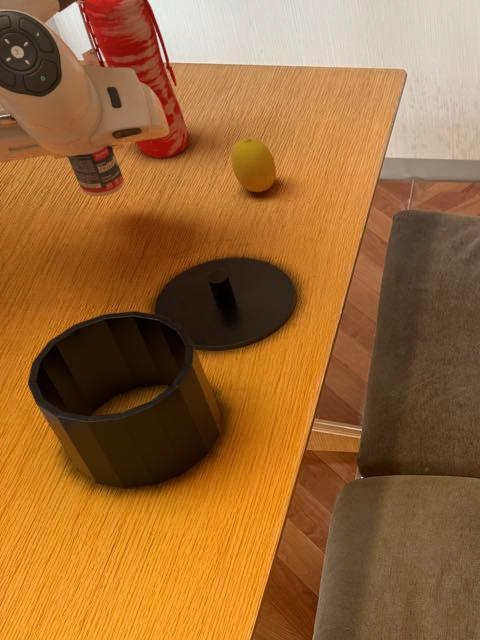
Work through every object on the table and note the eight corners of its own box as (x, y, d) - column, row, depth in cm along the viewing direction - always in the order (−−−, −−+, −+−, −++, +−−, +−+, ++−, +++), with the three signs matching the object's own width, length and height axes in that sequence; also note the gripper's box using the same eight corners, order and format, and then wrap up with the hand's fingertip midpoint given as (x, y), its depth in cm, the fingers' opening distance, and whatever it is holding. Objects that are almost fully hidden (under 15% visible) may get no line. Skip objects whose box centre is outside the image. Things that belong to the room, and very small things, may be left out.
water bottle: (107, 166, 127) (27, -27, 106) (119, 136, 131) (45, -55, 111) (193, 165, 127) (130, -28, 107) (202, 134, 132) (143, -56, 112)
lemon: (256, 177, 126) (242, 122, 119) (289, 187, 124) (276, 133, 118) (232, 197, 123) (216, 142, 116) (265, 208, 121) (250, 153, 115)
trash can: (64, 500, 92) (17, 430, 83) (81, 393, 101) (41, 320, 92) (219, 480, 93) (189, 410, 85) (223, 377, 102) (196, 304, 94)
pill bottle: (113, 200, 112) (86, 132, 105) (74, 195, 112) (44, 127, 105) (132, 176, 115) (106, 109, 108) (94, 171, 116) (66, 104, 108)
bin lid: (153, 362, 104) (138, 330, 100) (161, 272, 113) (149, 240, 109) (298, 346, 106) (290, 314, 102) (295, 259, 115) (287, 227, 111)
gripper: (-33, 155, 95) (7, 188, 108) (164, 124, 100) (180, 159, 113) (-54, 93, 94) (-11, 134, 107) (147, 65, 99) (164, 107, 112)
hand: (88, 146), depth 110 cm, fingers closed on pill bottle, 5 cm apart
